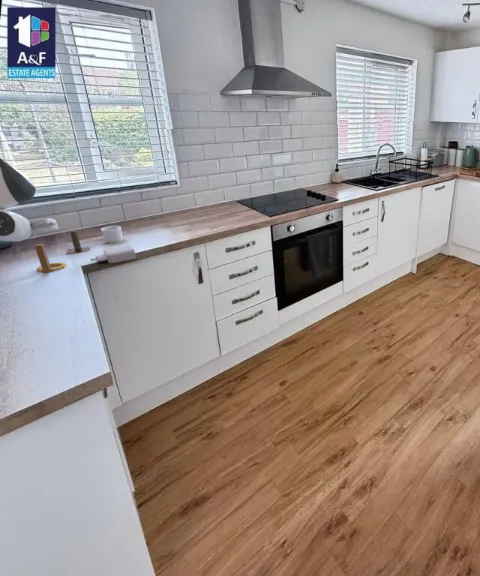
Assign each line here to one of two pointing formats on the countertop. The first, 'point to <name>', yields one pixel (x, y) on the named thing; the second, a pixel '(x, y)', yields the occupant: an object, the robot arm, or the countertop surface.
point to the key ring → (46, 261)
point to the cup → (112, 234)
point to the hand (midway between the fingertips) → (23, 230)
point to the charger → (116, 254)
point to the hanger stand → (76, 244)
